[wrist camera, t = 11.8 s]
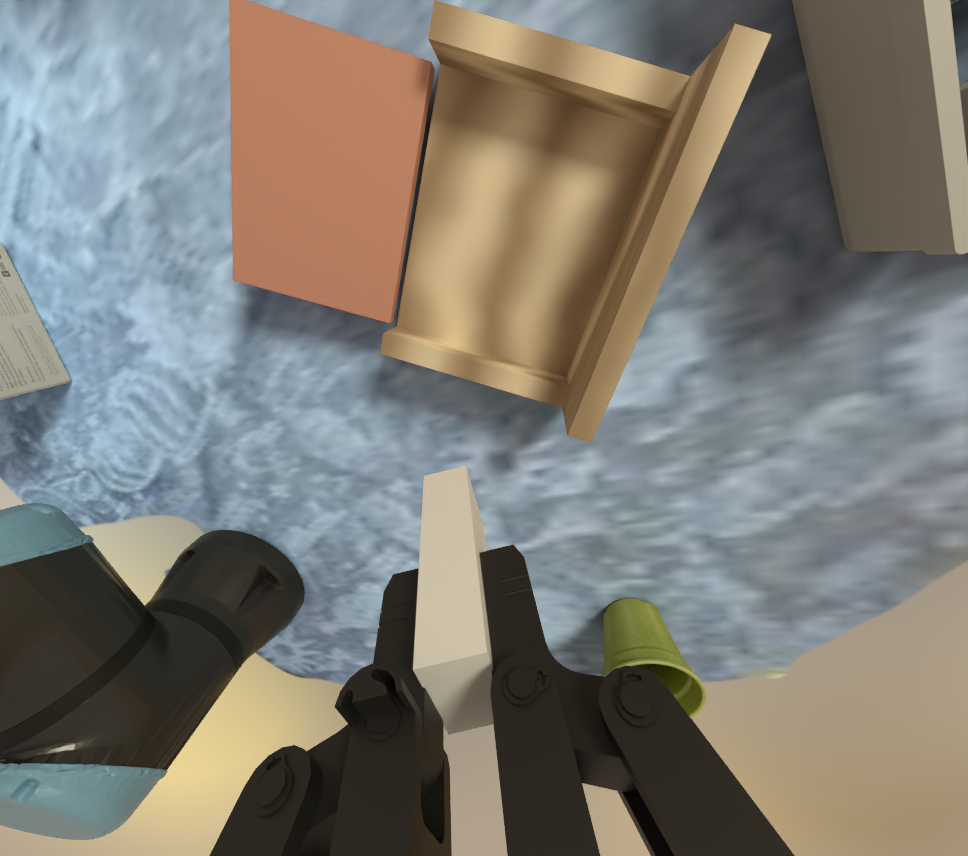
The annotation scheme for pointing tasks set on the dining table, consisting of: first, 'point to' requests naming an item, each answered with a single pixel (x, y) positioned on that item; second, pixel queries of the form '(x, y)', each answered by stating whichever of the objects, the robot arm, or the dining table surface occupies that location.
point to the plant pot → (649, 650)
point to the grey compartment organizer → (890, 120)
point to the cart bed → (554, 205)
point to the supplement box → (24, 340)
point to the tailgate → (322, 159)
